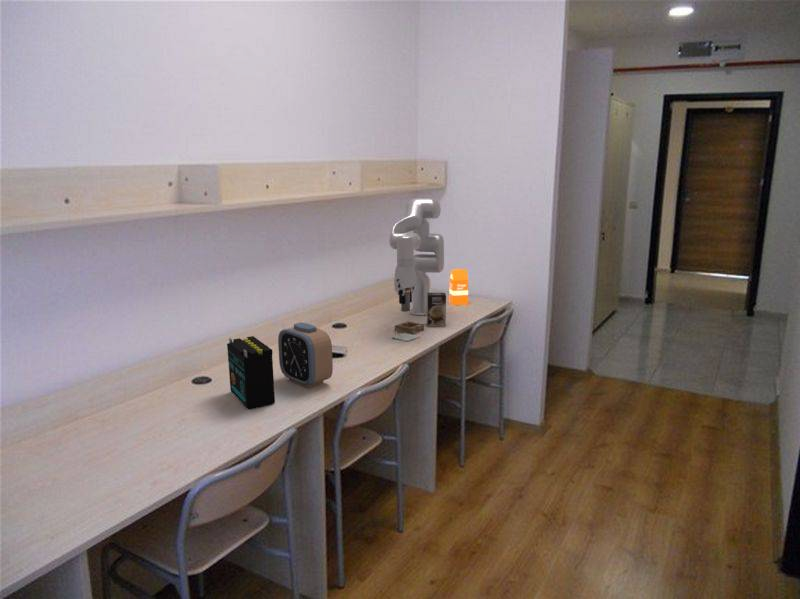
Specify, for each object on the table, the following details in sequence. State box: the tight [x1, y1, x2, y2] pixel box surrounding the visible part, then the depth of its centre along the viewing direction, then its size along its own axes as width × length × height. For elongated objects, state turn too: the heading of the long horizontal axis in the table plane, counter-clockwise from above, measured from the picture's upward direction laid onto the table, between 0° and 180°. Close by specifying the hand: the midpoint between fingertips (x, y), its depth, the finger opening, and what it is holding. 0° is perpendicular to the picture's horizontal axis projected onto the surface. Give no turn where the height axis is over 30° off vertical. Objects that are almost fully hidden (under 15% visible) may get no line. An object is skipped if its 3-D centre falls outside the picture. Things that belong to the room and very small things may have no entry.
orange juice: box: [448, 268, 469, 307], centre depth 344 cm, size 8×9×20 cm
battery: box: [226, 335, 276, 410], centre depth 211 cm, size 19×10×20 cm, turn 32°
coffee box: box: [426, 292, 447, 328], centre depth 301 cm, size 9×6×16 cm
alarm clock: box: [277, 322, 334, 389], centre depth 225 cm, size 21×10×22 cm, turn 45°
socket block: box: [394, 320, 425, 335], centre depth 293 cm, size 10×10×3 cm
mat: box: [391, 333, 420, 342], centre depth 282 cm, size 9×9×1 cm
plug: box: [400, 288, 411, 313], centre depth 277 cm, size 4×4×10 cm
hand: (405, 302), depth 278 cm, fingers closed on plug, 4 cm apart
